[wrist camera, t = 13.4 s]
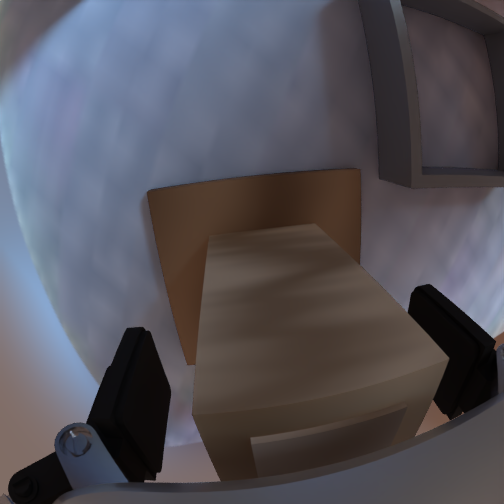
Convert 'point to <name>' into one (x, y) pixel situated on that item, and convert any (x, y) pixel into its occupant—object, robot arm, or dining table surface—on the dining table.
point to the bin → (406, 96)
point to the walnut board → (244, 225)
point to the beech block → (303, 356)
